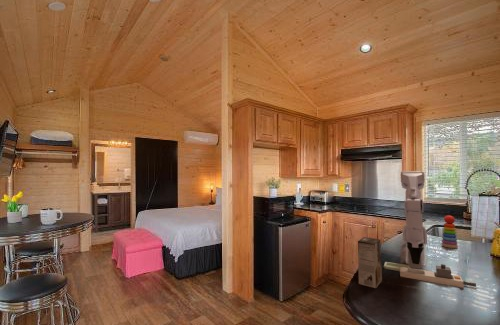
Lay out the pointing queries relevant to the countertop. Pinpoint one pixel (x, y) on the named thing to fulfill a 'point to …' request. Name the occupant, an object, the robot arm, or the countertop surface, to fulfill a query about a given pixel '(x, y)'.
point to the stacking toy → (449, 233)
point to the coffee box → (369, 262)
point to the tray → (394, 266)
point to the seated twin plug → (443, 271)
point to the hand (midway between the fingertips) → (415, 262)
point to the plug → (412, 263)
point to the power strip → (433, 277)
